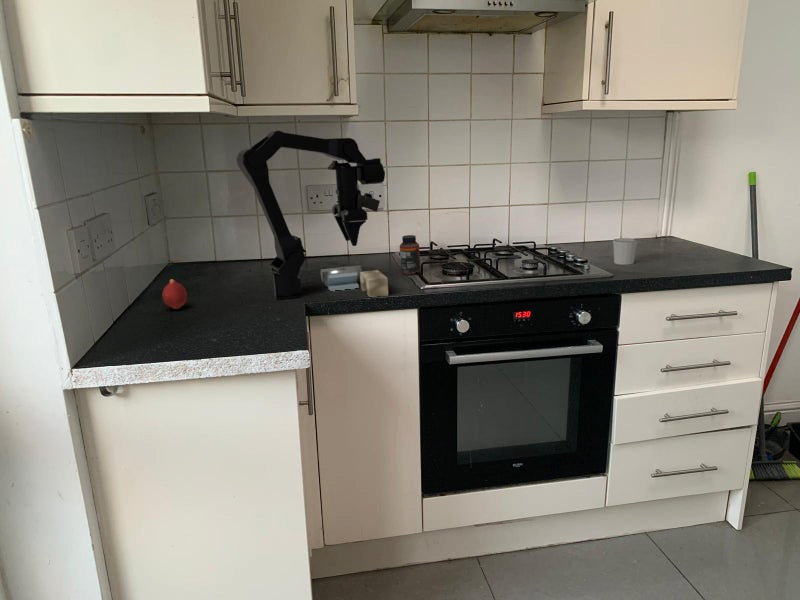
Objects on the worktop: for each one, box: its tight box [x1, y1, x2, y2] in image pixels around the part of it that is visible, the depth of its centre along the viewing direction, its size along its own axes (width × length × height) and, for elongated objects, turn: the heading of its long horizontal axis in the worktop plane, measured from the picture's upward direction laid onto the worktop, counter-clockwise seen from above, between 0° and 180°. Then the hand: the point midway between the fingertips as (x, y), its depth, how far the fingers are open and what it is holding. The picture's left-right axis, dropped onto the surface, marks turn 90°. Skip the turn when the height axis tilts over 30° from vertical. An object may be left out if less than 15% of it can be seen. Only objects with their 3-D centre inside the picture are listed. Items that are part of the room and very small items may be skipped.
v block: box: [324, 272, 360, 292], centre depth 165 cm, size 8×9×4 cm
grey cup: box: [612, 237, 638, 266], centre depth 178 cm, size 7×7×7 cm
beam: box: [359, 269, 389, 298], centre depth 157 cm, size 5×10×5 cm, turn 16°
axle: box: [320, 264, 363, 283], centre depth 165 cm, size 11×4×4 cm, turn 106°
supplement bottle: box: [399, 234, 421, 276], centre depth 176 cm, size 6×6×11 cm
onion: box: [161, 279, 188, 310], centre depth 149 cm, size 6×6×8 cm
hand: (351, 243), depth 163 cm, fingers open, 9 cm apart
